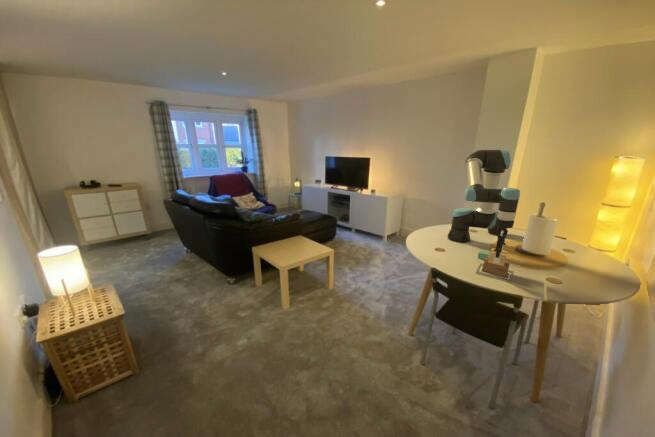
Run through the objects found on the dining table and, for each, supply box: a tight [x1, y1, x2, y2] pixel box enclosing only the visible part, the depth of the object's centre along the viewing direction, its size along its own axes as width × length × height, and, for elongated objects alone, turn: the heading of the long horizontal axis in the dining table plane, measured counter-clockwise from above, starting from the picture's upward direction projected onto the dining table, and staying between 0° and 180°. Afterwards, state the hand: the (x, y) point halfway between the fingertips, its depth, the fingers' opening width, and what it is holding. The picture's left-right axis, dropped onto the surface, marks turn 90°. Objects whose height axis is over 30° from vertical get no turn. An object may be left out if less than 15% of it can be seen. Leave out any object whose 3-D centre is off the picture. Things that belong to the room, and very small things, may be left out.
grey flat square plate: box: [474, 262, 515, 284], centre depth 138 cm, size 16×16×1 cm
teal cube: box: [477, 249, 490, 261], centre depth 155 cm, size 5×5×5 cm
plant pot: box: [487, 211, 501, 236], centre depth 199 cm, size 15×15×16 cm
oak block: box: [488, 247, 508, 266], centre depth 135 cm, size 7×7×6 cm
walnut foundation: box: [482, 257, 510, 278], centre depth 137 cm, size 6×11×6 cm, turn 51°
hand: (497, 259), depth 136 cm, fingers open, 10 cm apart
